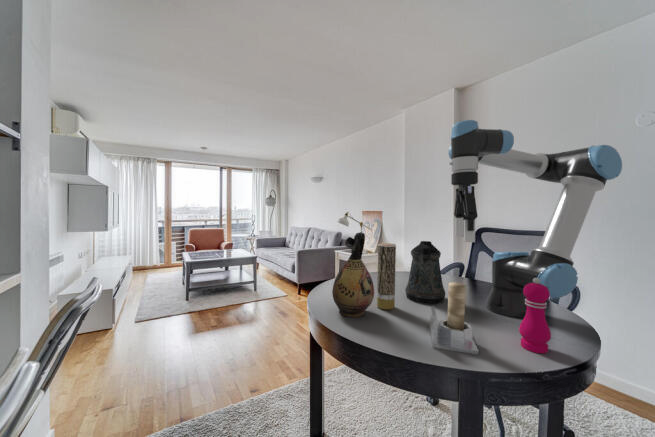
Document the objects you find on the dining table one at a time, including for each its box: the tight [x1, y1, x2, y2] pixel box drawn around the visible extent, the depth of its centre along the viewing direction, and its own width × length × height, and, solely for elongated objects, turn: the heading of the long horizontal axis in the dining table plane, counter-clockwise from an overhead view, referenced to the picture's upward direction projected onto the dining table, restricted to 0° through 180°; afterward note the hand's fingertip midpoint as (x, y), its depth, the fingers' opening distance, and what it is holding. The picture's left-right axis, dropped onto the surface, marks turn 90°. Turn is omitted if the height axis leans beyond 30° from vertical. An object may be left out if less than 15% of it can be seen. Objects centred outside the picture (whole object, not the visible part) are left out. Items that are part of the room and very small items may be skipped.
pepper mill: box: [518, 278, 552, 354], centre depth 79 cm, size 7×7×20 cm
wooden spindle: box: [446, 281, 467, 330], centre depth 82 cm, size 4×4×16 cm
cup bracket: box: [429, 305, 480, 355], centre depth 83 cm, size 12×12×8 cm
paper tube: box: [376, 242, 397, 311], centre depth 110 cm, size 7×7×25 cm
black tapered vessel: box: [404, 240, 446, 305], centre depth 121 cm, size 16×19×25 cm
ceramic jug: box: [331, 231, 375, 318], centre depth 105 cm, size 17×15×30 cm
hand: (464, 239), depth 89 cm, fingers open, 13 cm apart
